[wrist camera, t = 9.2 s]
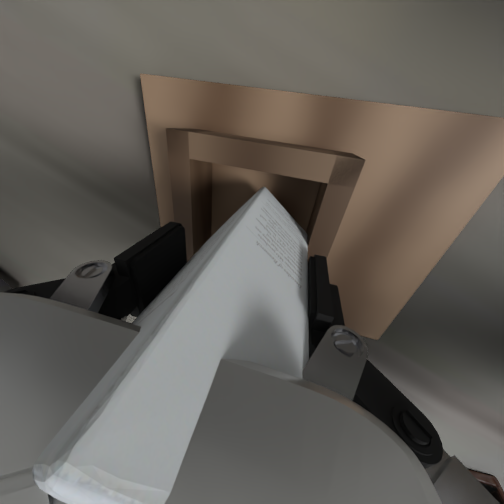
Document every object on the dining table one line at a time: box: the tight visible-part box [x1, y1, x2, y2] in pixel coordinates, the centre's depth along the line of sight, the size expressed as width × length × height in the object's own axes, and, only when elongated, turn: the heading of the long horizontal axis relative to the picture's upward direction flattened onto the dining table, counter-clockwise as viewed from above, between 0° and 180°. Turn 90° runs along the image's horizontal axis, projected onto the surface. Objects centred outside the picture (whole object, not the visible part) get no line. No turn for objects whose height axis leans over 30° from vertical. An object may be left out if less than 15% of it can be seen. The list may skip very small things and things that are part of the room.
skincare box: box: [32, 187, 309, 504], centre depth 9 cm, size 6×4×12 cm
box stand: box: [140, 74, 504, 340], centre depth 14 cm, size 20×16×4 cm
